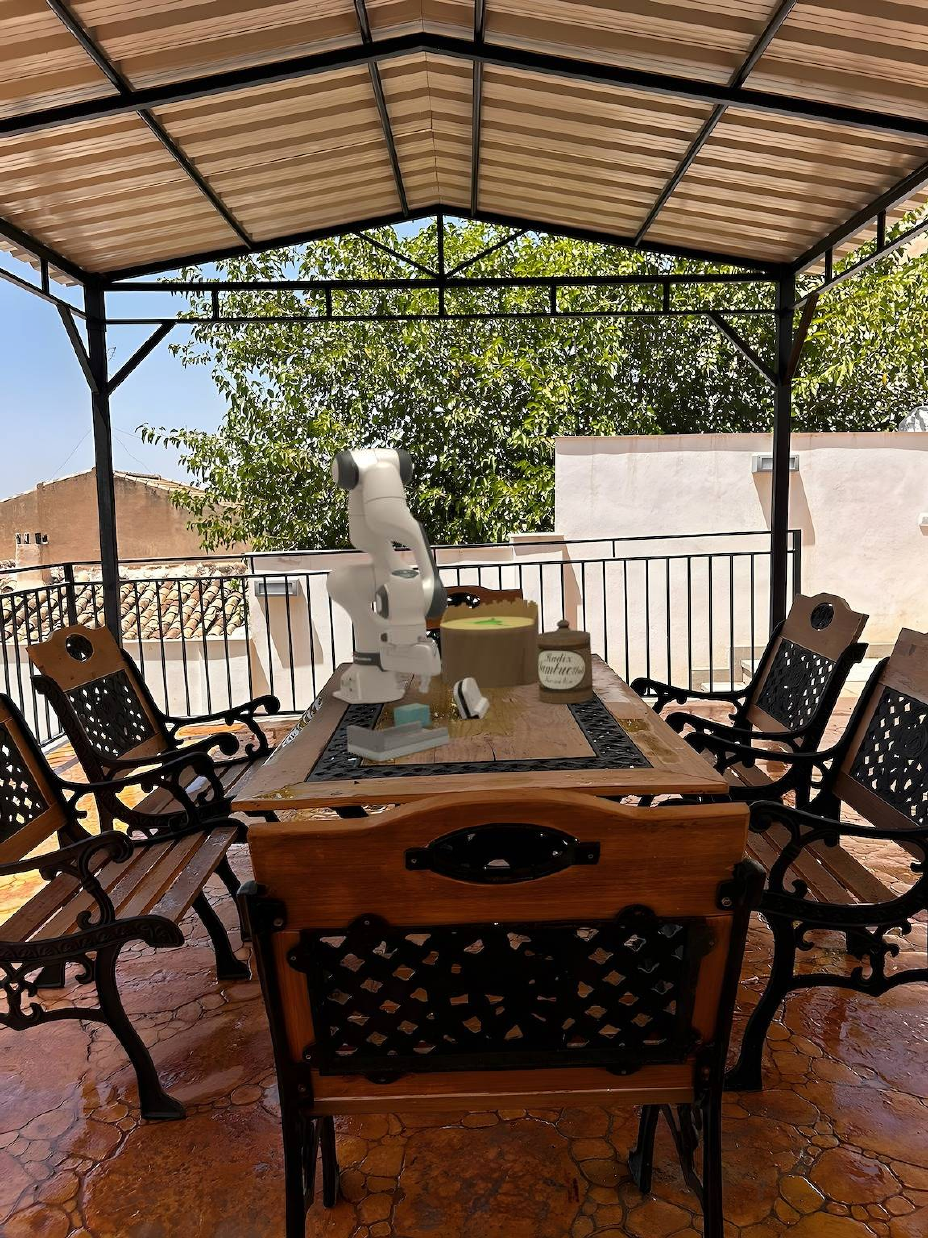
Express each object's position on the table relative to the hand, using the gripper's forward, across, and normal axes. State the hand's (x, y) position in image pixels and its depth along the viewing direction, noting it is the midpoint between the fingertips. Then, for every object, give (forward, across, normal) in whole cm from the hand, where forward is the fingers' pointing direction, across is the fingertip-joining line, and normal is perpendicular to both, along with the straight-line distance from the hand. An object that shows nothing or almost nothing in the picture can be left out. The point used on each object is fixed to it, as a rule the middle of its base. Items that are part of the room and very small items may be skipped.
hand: (411, 690), depth 223 cm
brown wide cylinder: (+8, +31, -56) cm, 64 cm away
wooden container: (+9, -8, -47) cm, 49 cm away
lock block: (+9, +1, 0) cm, 9 cm away
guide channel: (+10, -13, +15) cm, 22 cm away
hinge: (+9, +1, -20) cm, 22 cm away
